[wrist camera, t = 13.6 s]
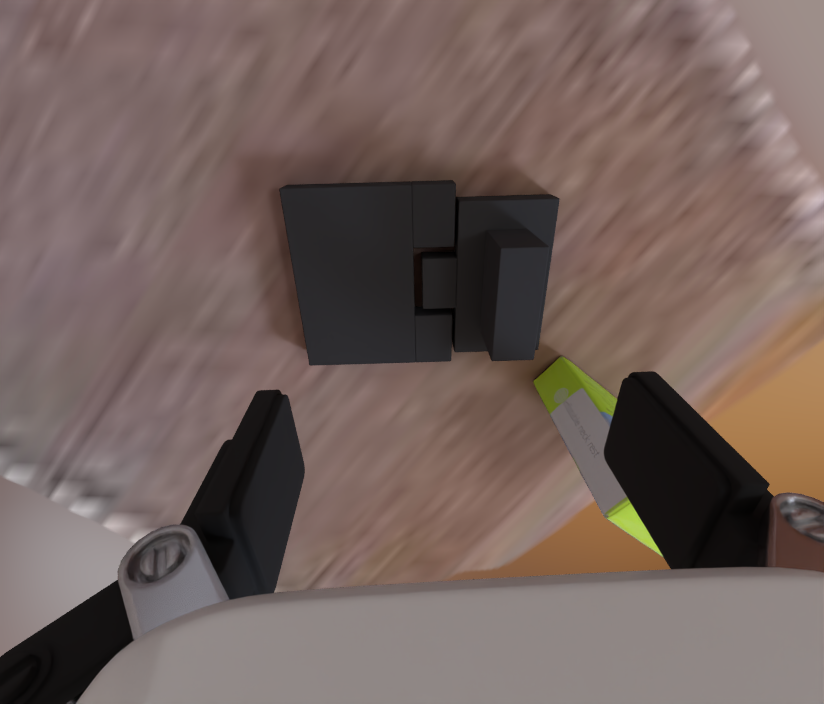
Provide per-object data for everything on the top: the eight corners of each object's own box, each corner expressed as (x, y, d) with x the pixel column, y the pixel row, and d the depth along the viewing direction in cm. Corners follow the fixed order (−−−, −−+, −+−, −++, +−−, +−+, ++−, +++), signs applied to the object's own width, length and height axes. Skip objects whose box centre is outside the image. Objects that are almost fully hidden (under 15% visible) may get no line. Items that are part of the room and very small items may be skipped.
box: (529, 381, 38) (614, 550, 23) (563, 350, 36) (678, 510, 21) (601, 434, 41) (717, 613, 26) (635, 408, 39) (779, 583, 24)
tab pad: (420, 197, 30) (424, 215, 24) (551, 194, 30) (589, 211, 24) (422, 342, 36) (426, 387, 29) (531, 339, 36) (558, 383, 29)
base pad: (286, 184, 29) (278, 188, 27) (452, 180, 29) (455, 183, 27) (313, 354, 36) (309, 365, 34) (448, 350, 36) (451, 361, 34)
